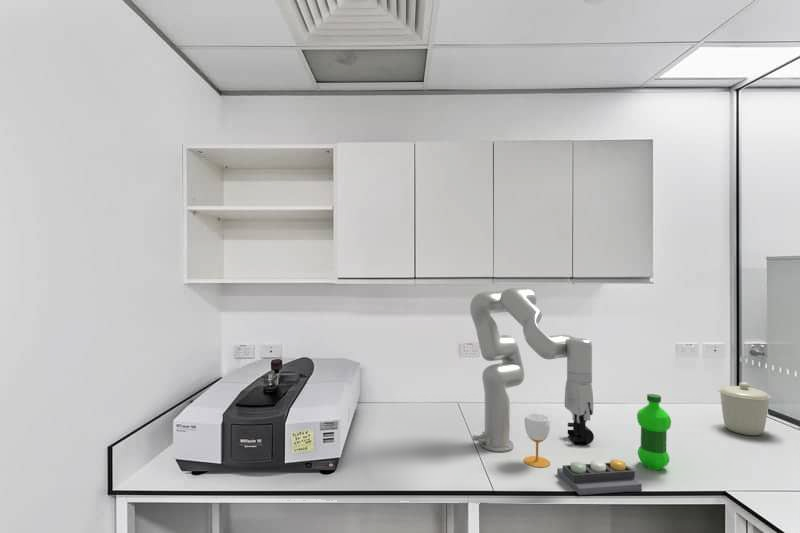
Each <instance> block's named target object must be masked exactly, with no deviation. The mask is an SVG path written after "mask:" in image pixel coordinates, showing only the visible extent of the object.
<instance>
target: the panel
mask: <svg viewBox="0 0 800 533" xmlns="http://www.w3.org/2000/svg"><path fill="white" fill-rule="evenodd" d="M604 463H605V464H606V472H597V473H595V472H594V471H593V470H591V463H584V464H585V465H586V473H582V474H574V473H573V472H572V471H571V464H567V465H565V464H564V465H562V467H560V468H559V467H558V468H556V469H557V471H556V473H557V474H556V475H557V476H558V477H559V478H561V479H562V480H563V481H564V482H565V483H566V484H567V485H568V486H569V487H570V488H571V489H572V490H574V491H575V492H576V493H577V494H578V495H579V496H587V495H598V494H613V493H625V492H626V493H627V492H638V491H639V492H640V491H641V492H642V490H643V488H642V486H643V484H642V482H640V481H638V480H637V479H635V477H636V476H635V474H636V473H635V470H633V469H632V468H630V467H629V466H628V465H626V471H614V470H613V469H612V468H610V462H604Z"/></svg>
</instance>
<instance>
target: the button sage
mask: <svg viewBox="0 0 800 533" xmlns="http://www.w3.org/2000/svg"><path fill="white" fill-rule="evenodd" d="M585 464H586V463H582V462H579V461H572V462H570V465H571V471H572V472H573V473H574V474H582V473H586V465H585Z"/></svg>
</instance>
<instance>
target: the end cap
mask: <svg viewBox="0 0 800 533" xmlns="http://www.w3.org/2000/svg"><path fill="white" fill-rule="evenodd" d="M567 427H568V428H572V429H567V437H568V440H570V441H571V442H572V444H573V445H574V446H580V447H581V446H582V447H583V446H584V447H586V446H588V445H590V444H591V443H593V441H594V439H595V435H594V432H593V431H592V430H591V429H590V428H589V427H588V426H586V424H585V435H576V434H574V422H567Z"/></svg>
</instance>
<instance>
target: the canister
mask: <svg viewBox="0 0 800 533" xmlns="http://www.w3.org/2000/svg"><path fill="white" fill-rule="evenodd" d="M718 392H719V393H720V403H721V412H722V418H723V423H724V425H725V427H726V428H727V429H728V430H729V431H730V432H734V433H736V434H739V435H740V434H741V435H746V436H760V435H762V434H763V433H764V431H765V427H766V423H767V416H768V410H769V403H770V400H771V399H772V396H771V395H770V394H768V393H767V392H765V391H763V390H760V389H759V388H758V389H757V388H752V387H750V383H748V382H745V381H741V382H739V383H738V385H726V386H723V387H720V388H718Z"/></svg>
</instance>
